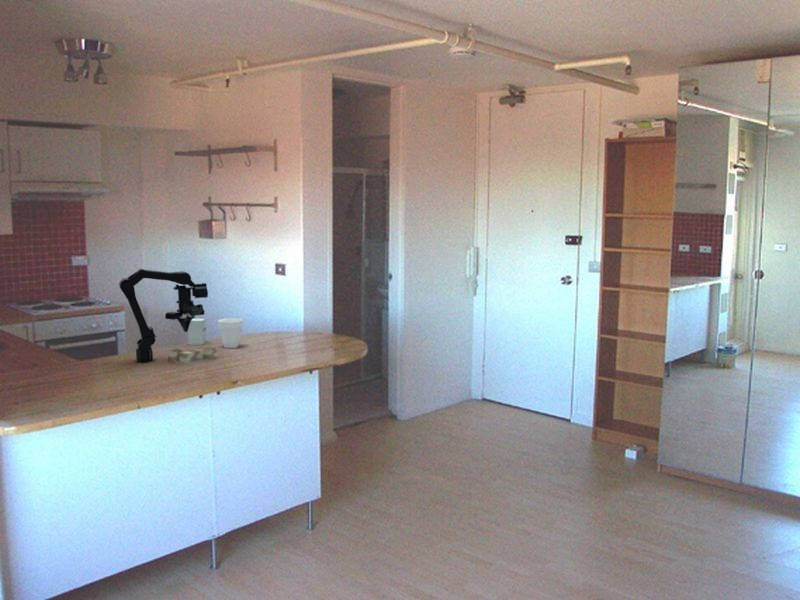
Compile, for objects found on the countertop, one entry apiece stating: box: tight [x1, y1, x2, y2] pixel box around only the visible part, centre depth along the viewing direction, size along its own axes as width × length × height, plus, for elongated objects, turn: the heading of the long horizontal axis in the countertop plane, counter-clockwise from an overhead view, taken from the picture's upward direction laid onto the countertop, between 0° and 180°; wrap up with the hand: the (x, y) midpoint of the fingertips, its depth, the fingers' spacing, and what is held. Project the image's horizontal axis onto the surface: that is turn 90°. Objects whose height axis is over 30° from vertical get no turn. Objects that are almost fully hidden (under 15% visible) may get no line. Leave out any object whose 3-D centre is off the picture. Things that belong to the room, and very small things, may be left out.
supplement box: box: [187, 318, 207, 346], centre depth 375 cm, size 7×7×13 cm
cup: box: [217, 317, 244, 349], centre depth 367 cm, size 12×12×14 cm
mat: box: [172, 358, 217, 366], centre depth 338 cm, size 17×14×1 cm
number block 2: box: [202, 346, 219, 361], centre depth 340 cm, size 4×4×5 cm
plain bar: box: [179, 347, 204, 362], centre depth 337 cm, size 12×4×4 cm, turn 147°
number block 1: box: [168, 348, 184, 363], centre depth 336 cm, size 4×4×5 cm
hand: (185, 331), depth 341 cm, fingers closed
